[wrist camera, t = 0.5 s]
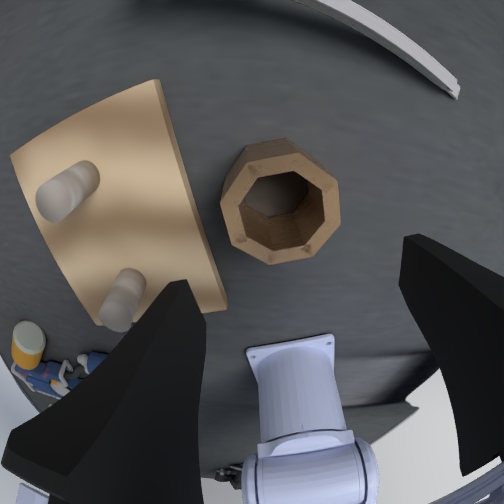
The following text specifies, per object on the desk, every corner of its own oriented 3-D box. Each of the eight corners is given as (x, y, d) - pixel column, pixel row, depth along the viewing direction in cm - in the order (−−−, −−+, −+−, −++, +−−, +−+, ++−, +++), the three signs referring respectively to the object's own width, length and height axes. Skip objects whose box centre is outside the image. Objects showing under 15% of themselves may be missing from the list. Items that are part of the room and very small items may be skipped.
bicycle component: (295, 473, 49) (243, 465, 45) (288, 498, 45) (235, 494, 40) (264, 466, 58) (216, 456, 53) (257, 489, 53) (208, 481, 49)
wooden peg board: (227, 298, 22) (224, 352, 17) (101, 316, 23) (81, 360, 18) (159, 79, 13) (124, 77, 9) (19, 150, 14) (-28, 175, 10)
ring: (324, 218, 18) (342, 250, 15) (240, 234, 19) (239, 270, 15) (313, 133, 15) (333, 147, 12) (218, 151, 16) (210, 170, 12)
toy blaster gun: (-11, 303, 23) (32, 372, 31) (-26, 326, 19) (23, 393, 27) (131, 335, 25) (151, 401, 33) (121, 370, 21) (147, 428, 30)
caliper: (153, -12, 10) (111, -49, 5) (159, -26, 9) (122, -67, 4) (452, 99, 13) (516, 116, 8) (456, 86, 13) (520, 100, 8)
